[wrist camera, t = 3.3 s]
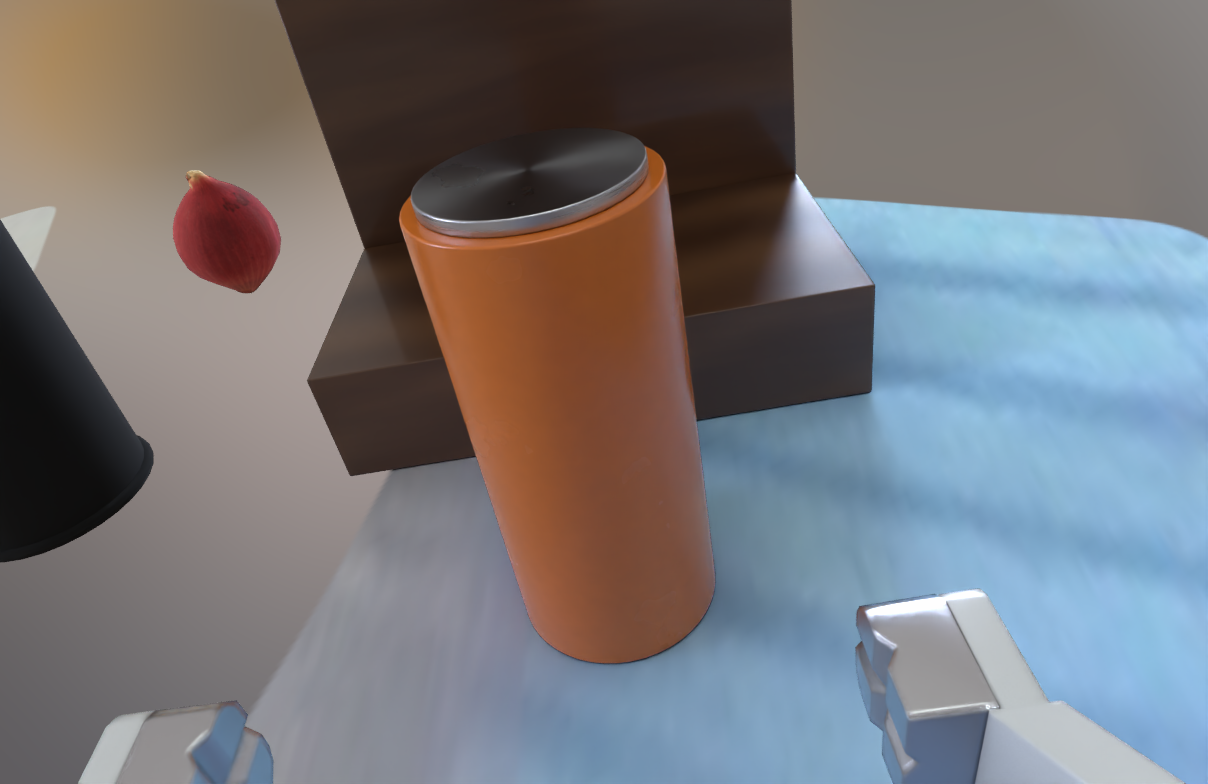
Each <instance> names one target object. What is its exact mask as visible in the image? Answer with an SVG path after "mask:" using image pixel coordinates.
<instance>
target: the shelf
mask: <svg viewBox="0 0 1208 784" xmlns="http://www.w3.org/2000/svg"><path fill="white" fill-rule="evenodd" d="M275 3H276V6H277V8H278V11H279V14H280V16H281V19H282V22H283V25H284V28H285V30H286V33H287V36H288V39H289V41H290V44H291V47H292V49H293V53H294V55H295V58H296V61H297V63H298V66H299V69H300V72H301V75H302V77H303V80H304V83H305V86H306V88H307V91H308V94H309V97H310V99H311V102H312V105H313V108H314V110H315V113H316V116H317V119H318V122H319V124H320V127H321V129H322V132H323V135H324V138H325V141H326V144H327V146H328V149H329V152H330V155H331V157H332V160H333V163H334V166H335V168H336V171H337V174H338V177H339V179H340V182H341V185H342V188H343V190H344V193H345V196H346V199H347V202H348V204H349V207H350V210H351V212H352V215H353V218H354V221H355V224H356V226H357V229H358V232H359V234H360V237H361V240H362V243H363V246H364V248H365V249H364V251H363V253H362V255H361V258H360V260H359V263H358V265H357V267H356V269H355V272H354V274H353V276H352V279H351V281H350V283H349V285H348V288H347V290H346V292H345V295H344V297H343V299H342V302H341V304H340V306H339V308H338V311H337V313H336V315H335V318H334V320H333V322H332V324H331V327H330V329H329V331H328V334H327V336H326V338H325V341H324V343H323V345H322V347H321V350H320V352H319V355H318V357H317V359H316V361H315V363H314V366H313V368H312V370H311V373H310V375H309V377H308V380H307V381H308V384H309V386H310V388H311V391H312V393H313V395H314V397H315V399H316V402H317V404H318V406H319V408H320V410H321V413H322V415H323V417H324V419H325V421H326V424H327V426H328V428H329V430H330V432H331V435H332V437H333V439H334V441H335V444H336V446H337V448H338V450H339V452H340V455H341V457H342V459H343V461H344V463H345V466H346V468H347V470H348V472H349V474H350V476H354V475H360V474H366V473H373V472H379V471H386V470H392V469H398V468H404V467H410V466H416V465H423V464H429V463H435V462H441V461H447V460H453V459H459V458H466V457H472V456H476V455H475V452H474V449H473V446H472V443H471V440H470V436H469V433H468V430H467V427H466V424H465V421H464V418H463V415H462V412H461V409H460V406H459V403H458V400H457V397H456V394H455V391H454V388H453V385H452V382H451V379H450V376H449V373H448V370H447V367H446V364H445V360H444V357H443V354H442V351H441V348H440V345H439V342H438V339H437V336H436V333H435V330H434V327H433V324H432V321H431V318H430V315H429V312H428V309H427V306H426V303H425V300H424V297H423V294H422V291H421V288H420V284H419V281H418V278H417V275H416V272H415V269H414V266H413V263H412V260H411V257H410V254H409V251H408V248H407V245H406V242H405V239H404V236H403V233H402V230H401V227H400V223H399V217H400V211H401V209H402V206H403V204H404V203H405V202H406V200H407V199H408V198H409V197H410V196H411V192H412V190H413V187H414V186H415V184H416V183H417V182H418V181H419V180H420V179H421V178H422V177H423V176H424V175H425V174H426V173H427V172H429V171H430V170H431V169H433V168H434V167H436V166H438V165H439V164H441V163H443V162H444V161H446V160H448V159H450V158H452V157H454V156H456V155H458V154H461V153H463V152H465V151H468V150H470V149H473V148H476V147H478V146H481V145H484V144H487V143H491V142H494V141H497V140H501V139H505V138H509V137H513V136H517V135H522V134H527V133H532V132H538V131H545V130H553V129H564V128H599V129H608V130H614V131H619V132H623V133H626V134H629V135H631V136H633V137H635V138H637V139H638V140H639V141H641V142H642V144H643V145H644V146H646V147H648V148H650V149H652V150H654V151H655V152H656V153H658V154H659V155H660V156H661V158H662V159H663V161H664V162H665V165H666V169H667V178H668V186H669V194H670V202H671V211H672V219H673V227H674V236H675V244H676V252H677V260H678V269H679V277H680V285H681V293H682V302H683V310H684V318H685V327H686V335H687V343H688V351H689V360H690V368H691V376H692V385H693V393H694V401H695V409H696V418H697V420H700V419H706V418H712V417H718V416H724V415H731V414H737V413H743V412H749V411H755V410H761V409H768V408H774V407H780V406H786V405H792V404H798V403H805V402H811V401H817V400H823V399H829V398H835V397H841V396H848V395H854V394H860V393H866V392H871V390H872V363H873V334H874V305H875V284H874V283H873V281H872V280H871V279H870V277H869V276H868V274H867V273H866V271H865V270H864V269H863V267H862V266H861V264H860V263H859V262H858V260H857V259H856V257H855V256H854V255H853V253H852V252H851V250H850V249H849V247H848V246H847V245H846V243H845V242H844V240H843V239H842V238H841V236H840V235H839V233H838V232H837V230H836V229H835V228H834V226H833V225H832V223H831V222H830V221H829V219H828V218H827V216H826V215H825V213H824V212H823V211H822V209H821V208H820V206H819V205H818V204H817V202H816V201H815V199H814V198H813V196H812V195H811V194H810V192H809V191H808V189H807V188H806V187H805V185H804V184H803V182H802V181H801V179H800V178H799V177H798V175H797V174H796V159H795V122H794V83H793V47H792V11H791V10H792V7H791V0H275Z"/></svg>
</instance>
